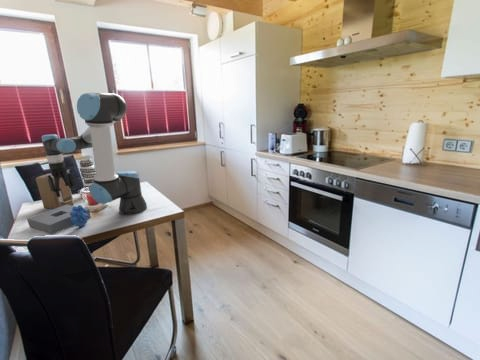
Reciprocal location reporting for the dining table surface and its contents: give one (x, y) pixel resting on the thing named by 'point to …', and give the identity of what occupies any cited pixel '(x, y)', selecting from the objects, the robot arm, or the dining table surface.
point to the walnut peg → (66, 195)
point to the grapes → (78, 216)
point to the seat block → (53, 219)
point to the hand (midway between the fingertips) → (66, 199)
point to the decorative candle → (87, 171)
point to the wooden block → (48, 192)
